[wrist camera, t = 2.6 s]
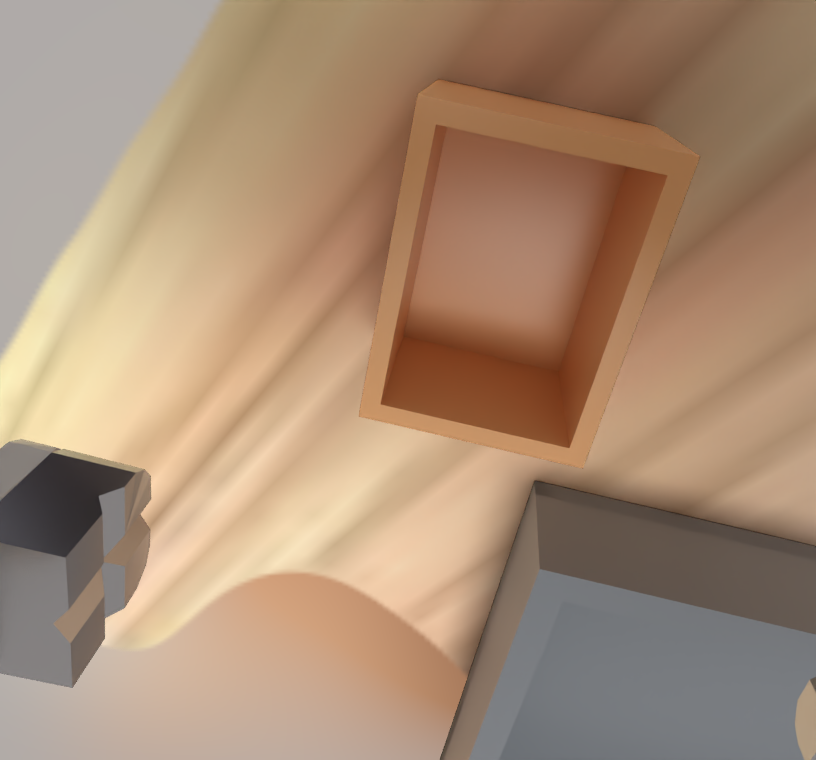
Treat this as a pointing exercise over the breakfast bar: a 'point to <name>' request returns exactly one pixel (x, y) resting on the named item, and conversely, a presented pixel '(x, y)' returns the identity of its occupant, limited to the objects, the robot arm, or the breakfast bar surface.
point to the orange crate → (518, 268)
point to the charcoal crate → (639, 639)
